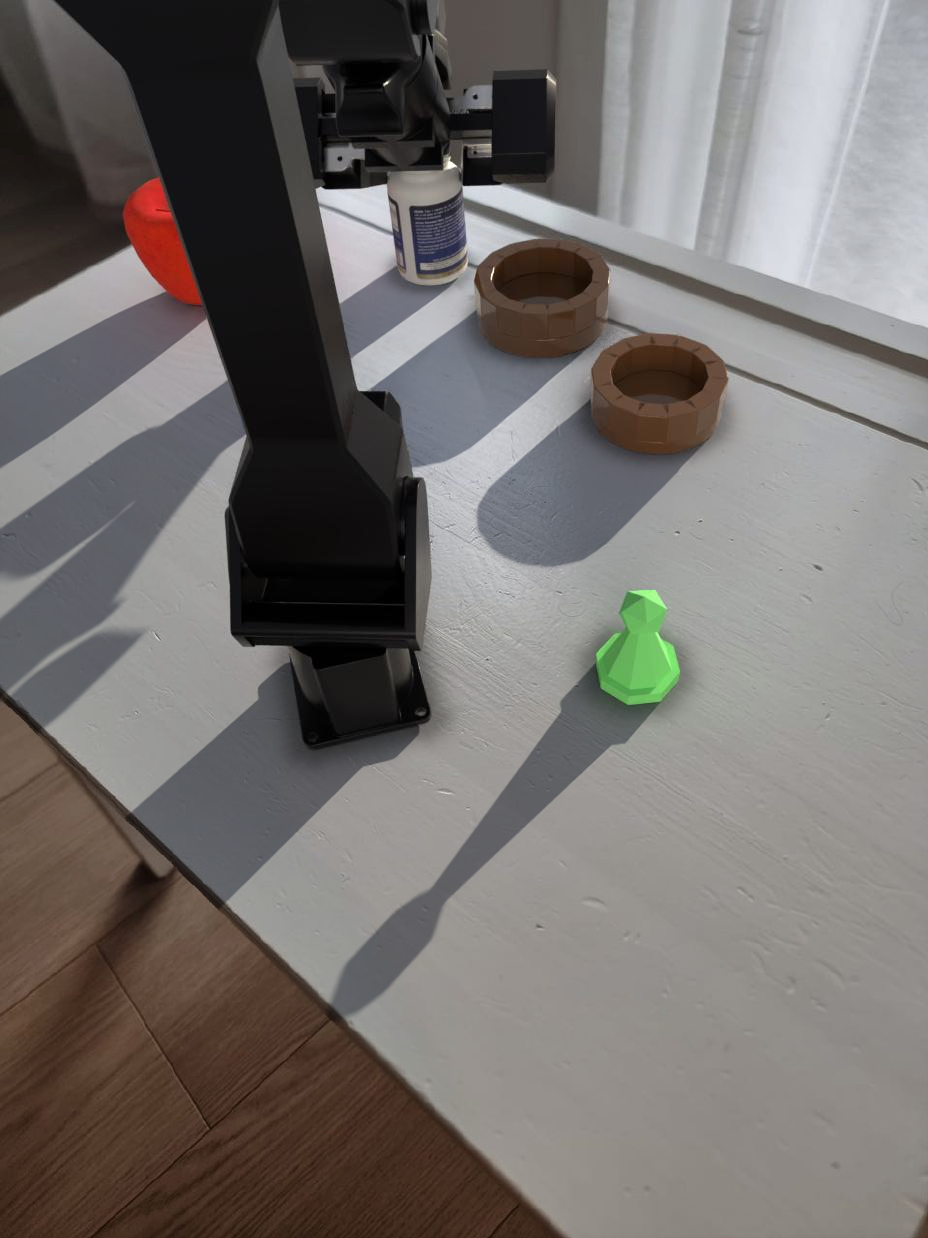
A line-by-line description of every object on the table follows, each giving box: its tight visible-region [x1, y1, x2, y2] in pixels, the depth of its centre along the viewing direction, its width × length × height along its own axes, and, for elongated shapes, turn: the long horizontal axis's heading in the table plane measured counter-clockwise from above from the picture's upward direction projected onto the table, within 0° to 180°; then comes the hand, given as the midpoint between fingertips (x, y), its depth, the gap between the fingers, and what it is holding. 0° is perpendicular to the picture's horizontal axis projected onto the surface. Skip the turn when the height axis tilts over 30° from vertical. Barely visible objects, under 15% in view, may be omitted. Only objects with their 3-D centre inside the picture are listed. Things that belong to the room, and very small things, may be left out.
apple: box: [122, 176, 202, 306], centre depth 73 cm, size 9×9×8 cm
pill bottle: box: [386, 156, 469, 286], centre depth 72 cm, size 5×5×10 cm
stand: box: [473, 238, 611, 359], centre depth 69 cm, size 9×9×4 cm
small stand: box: [589, 332, 730, 455], centre depth 63 cm, size 8×8×3 cm
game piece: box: [595, 589, 681, 706], centre depth 49 cm, size 4×4×6 cm
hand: (426, 174), depth 72 cm, fingers closed on pill bottle, 5 cm apart
